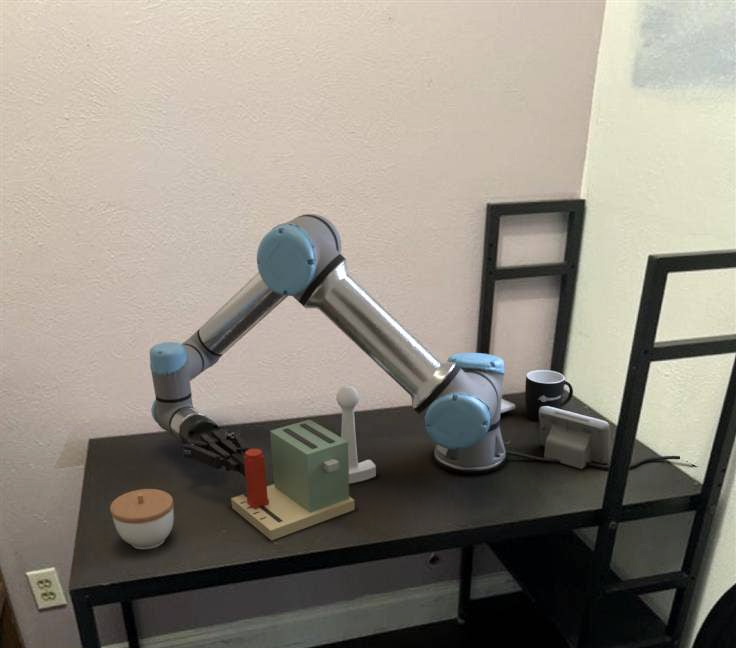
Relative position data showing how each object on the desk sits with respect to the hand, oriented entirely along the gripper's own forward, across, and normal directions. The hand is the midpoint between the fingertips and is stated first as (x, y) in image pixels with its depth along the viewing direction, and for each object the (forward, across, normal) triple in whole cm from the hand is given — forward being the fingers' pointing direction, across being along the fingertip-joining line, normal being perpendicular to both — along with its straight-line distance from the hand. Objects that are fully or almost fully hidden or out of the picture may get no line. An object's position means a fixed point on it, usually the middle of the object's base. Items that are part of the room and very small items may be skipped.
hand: (251, 472), depth 146 cm
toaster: (+4, -6, -8) cm, 11 cm away
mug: (+2, -79, -9) cm, 80 cm away
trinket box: (-2, +21, -9) cm, 23 cm away
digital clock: (+21, -66, -9) cm, 70 cm away
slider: (+2, 0, -6) cm, 6 cm away
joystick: (-2, -23, -9) cm, 24 cm away
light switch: (-8, -69, -9) cm, 70 cm away
